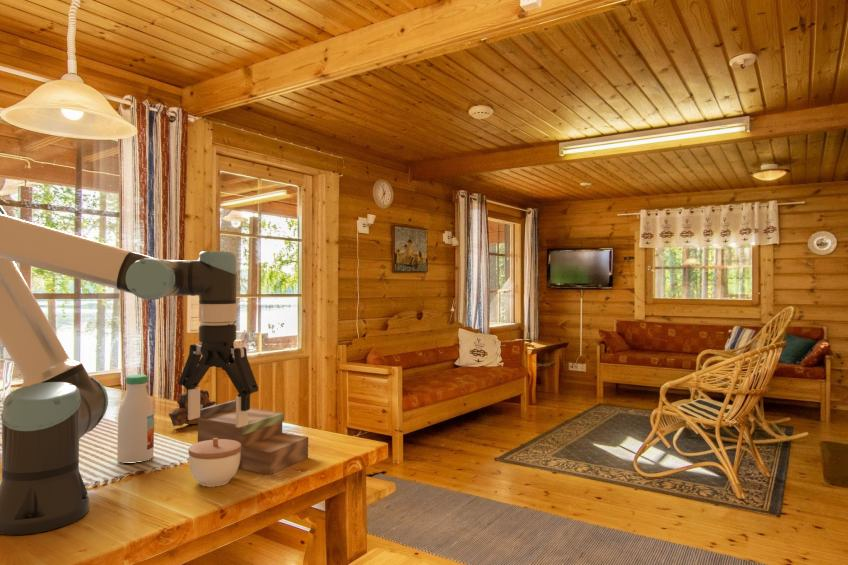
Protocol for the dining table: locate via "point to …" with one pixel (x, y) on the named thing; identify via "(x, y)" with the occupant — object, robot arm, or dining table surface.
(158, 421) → the dining table surface
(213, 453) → the lidded jar
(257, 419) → the stepped stand
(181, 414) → the wooden carving
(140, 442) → the milk bottle
